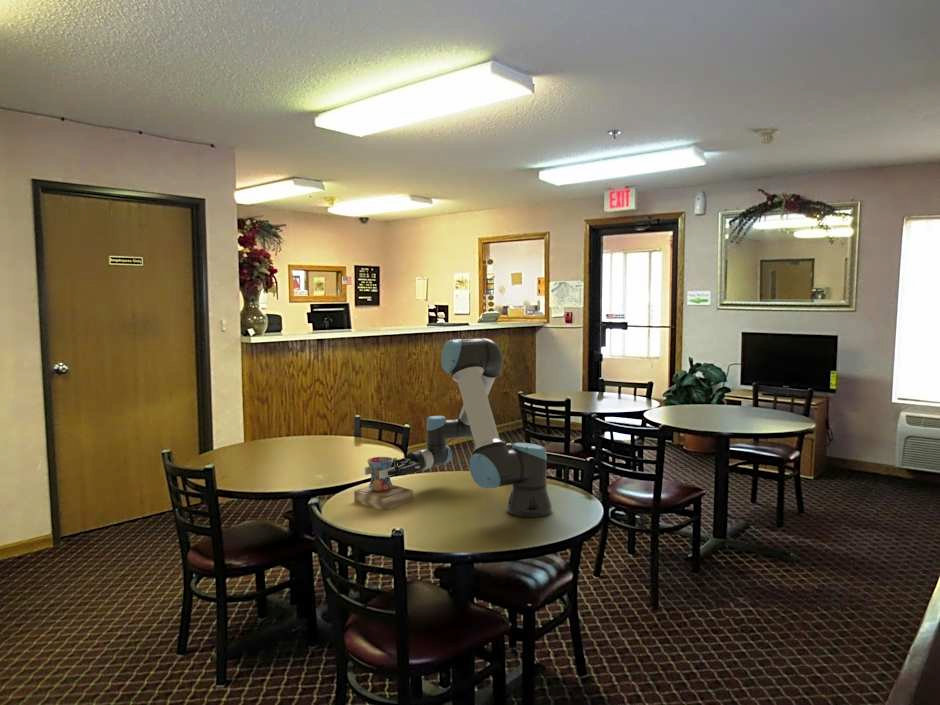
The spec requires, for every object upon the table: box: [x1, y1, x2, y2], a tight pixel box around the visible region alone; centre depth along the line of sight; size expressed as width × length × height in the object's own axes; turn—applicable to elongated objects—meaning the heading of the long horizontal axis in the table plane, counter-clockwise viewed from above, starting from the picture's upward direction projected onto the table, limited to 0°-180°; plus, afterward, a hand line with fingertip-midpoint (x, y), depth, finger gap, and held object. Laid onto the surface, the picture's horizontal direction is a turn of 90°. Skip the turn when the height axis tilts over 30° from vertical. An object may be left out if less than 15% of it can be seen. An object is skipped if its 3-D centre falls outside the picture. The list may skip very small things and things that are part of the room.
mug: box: [367, 456, 396, 491], centre depth 233 cm, size 12×9×11 cm
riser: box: [353, 484, 414, 511], centre depth 234 cm, size 16×14×4 cm
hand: (372, 472), depth 230 cm, fingers closed on mug, 7 cm apart
